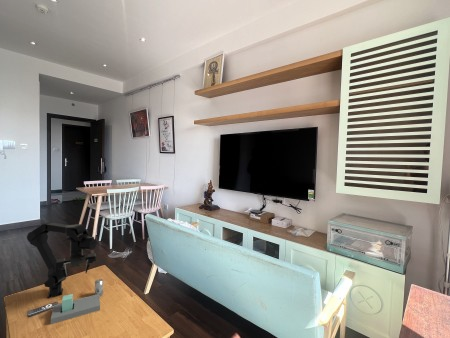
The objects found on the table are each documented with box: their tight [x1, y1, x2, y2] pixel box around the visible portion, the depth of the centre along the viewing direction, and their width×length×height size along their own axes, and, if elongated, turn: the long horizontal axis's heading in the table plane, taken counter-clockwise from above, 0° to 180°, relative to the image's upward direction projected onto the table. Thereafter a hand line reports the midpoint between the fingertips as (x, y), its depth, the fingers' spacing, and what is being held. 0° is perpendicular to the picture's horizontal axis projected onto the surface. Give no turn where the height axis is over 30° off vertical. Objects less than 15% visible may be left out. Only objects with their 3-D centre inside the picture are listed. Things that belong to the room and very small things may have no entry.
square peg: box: [61, 293, 74, 313], centre depth 109 cm, size 4×4×8 cm
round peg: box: [94, 278, 104, 297], centre depth 124 cm, size 4×4×8 cm
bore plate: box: [50, 294, 101, 325], centre depth 111 cm, size 11×20×2 cm, turn 122°
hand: (76, 275), depth 122 cm, fingers open, 9 cm apart
